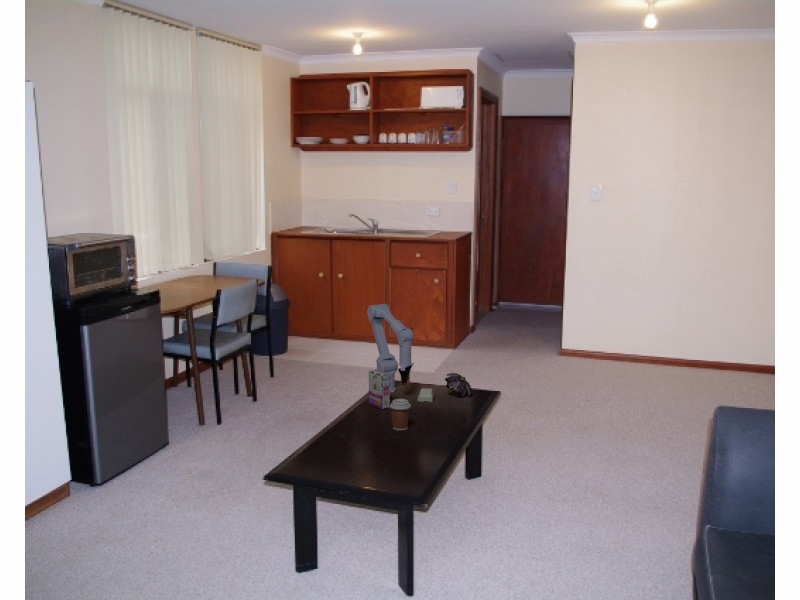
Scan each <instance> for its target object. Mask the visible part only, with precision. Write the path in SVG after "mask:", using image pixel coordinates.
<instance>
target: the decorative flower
mask: <svg viewBox="0 0 800 600" xmlns="http://www.w3.org/2000/svg"><path fill="white" fill-rule="evenodd" d="M445 376H446V377H445V378H444V381H445V382H446V384H445V386H446V388H447V389H448V390H447V391H446V392H447V393H448V395H449V394H450V395H453V394H457V395H459V396H460V398H461V399H463V398H464V397H465V396H466V394H467V393H468V398H470V397H472V395H473V391H472V387H471V386H472V385H470V383H469V381H468V380H467V379H466V377H465V376H462V375H461V374H460V373H456V372H452V373H451V372H450V373H447V374H445Z"/></svg>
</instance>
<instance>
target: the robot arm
mask: <svg viewBox="0 0 800 600" xmlns="http://www.w3.org/2000/svg"><path fill="white" fill-rule="evenodd" d="M390 309H391V308H390V307H389V305H388V304H387V303H380V304H373V305H372V304H371V305H368V308H367V311H366V314H367V317H368V320H369V323H370V326H371V329H372V331H373V335H374V339H375V344H376V346H377V350H378V354H379V355H378V357H377V359H375V364H376V370H379V371H382V372H385V373H388V374H390V393H395V391H396V390H397V386H396V385H395V381H396V380H395V378H396V377H395V376H396V374H395V373H397V372H398V373H399V374H400V381H401V380H402V383H407V379H408V374H409V375H410V373H411V370H412V367H413V366H414V365H415V363H414V362H412V341H414V337H415V335H414V332H413V330H412V329H411V328H407V327H406V326H405V325H404V324H403V323H402V321H401V320H399V319H396V318H395V317H394V315H393V314H392V313H391V310H390ZM384 321H386V322H387V323H389V325H390V329H391V330H392V332H393V333H394V334H395V335H396V339H397V342H398V343H397V344H398V347H399V363H398V361H397V359H396V357H395V355H393V354H392V353H390V349H389V346H388V343H387V342H388V341H387V338H386V334H385V330H384V326H383V323H384ZM395 386H396V387H395Z"/></svg>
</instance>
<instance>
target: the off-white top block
mask: <svg viewBox="0 0 800 600" xmlns="http://www.w3.org/2000/svg"><path fill="white" fill-rule="evenodd" d="M419 391H420V392H419V394H420V397H432V394H433V388H423V387H422V388H420V390H419Z"/></svg>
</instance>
